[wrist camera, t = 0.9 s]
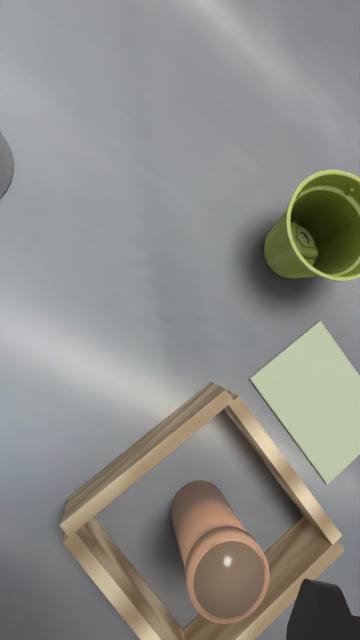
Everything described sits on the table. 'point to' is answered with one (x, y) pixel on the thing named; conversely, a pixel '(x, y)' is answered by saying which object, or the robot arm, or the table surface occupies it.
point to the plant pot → (319, 230)
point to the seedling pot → (218, 555)
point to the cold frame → (283, 557)
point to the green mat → (315, 399)
